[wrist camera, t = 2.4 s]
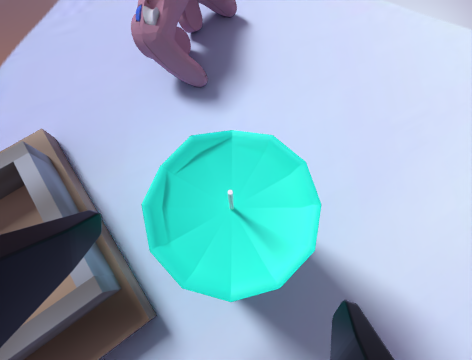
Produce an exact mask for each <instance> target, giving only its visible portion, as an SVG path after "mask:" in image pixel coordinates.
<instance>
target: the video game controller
mask: <svg viewBox="0 0 472 360" xmlns="http://www.w3.org/2000/svg"><path fill="white" fill-rule="evenodd" d="M198 3H201V4H203V5H205V6H206V7H208V8H209V9H211V10H212V11H214V12H216V13H218V14H220V15H223V16H227V17H232V16H233V15H234V14H235V13H236V10H237V6H236V1H235V0H139V1H138V7H137V10H136V14H135V15H134V16H133V18H132V22H131V32H132V36H133V40H134V42H135V44H136V46H137V47H138V49H139V50H140V51H141V52H142V53H143V54H144V55H145V56H147V57H149V58H151V59H154V60H155V61H156V62H157V63H158V64H160V65H161V66H162V67H163V68H165V69H166V70H167V71H168V72H170V73H171V74H172V75H174V76H175V77H177V78H178V79H180V80H181V81H183V82H185V83H188V84H190V85H193V86H198V87H202V86H204V85H206V83H207V82H208V78H207V75H206V73H205V71H204V70H203V68H202V67H201V66H200V65H199V64H198V63H197V62H196V61H195V60H194V59H192V58H191V57H190V56H189V53H190V49H191V44H190V39H189V37H188V35H187V33H186V32H188V33H191V32H195V31H198V30H200V28H201V27H202V15H201V11H200V8H199V4H198ZM178 21H179V23H180V25H181V27H182V28H183V29H184V30H185V31H186V32H185V31H184V30H183V29H181V28H179V27H177V23H178Z"/></svg>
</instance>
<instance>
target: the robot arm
mask: <svg viewBox="0 0 472 360" xmlns="http://www.w3.org/2000/svg"><path fill="white" fill-rule="evenodd" d="M101 232H102V216H101V214H100V213H98V212H96V211H93V210H87V211H83V212H80V213H76V214H72V215H69V216H65V217H62V218H58V219H55V220H51V221H47V222H44V223H40V224H37V225H33V226H29V227H26V228H22V229H19V230H15V231H11V232H8V233H4V234H1V235H0V348H1V347H2V346H3V345H4V344H5V343H6V342H7V341H8V339H9V338H10V337H11V336H12V335H13V334H14V333H15V332H16V331H17V330H18V329H19V328H20V327H21V326H22V325H23V324H24V322H25V321H26V320H27V319H28V318H29V317H30V316H31V315H32V314H33V313H34V312H35V311H36V310H37V309H38V308H39V306H40V305H41V304H42V303H43V302H44V301H45V300H46V299H47V298H48V297H49V296H50V295H51V294H52V293H53V292H54V290H55V289H56V288H57V287H58V286H59V285H60V284H61V283H62V282H63V281H64V280H65V279H66V278H67V277H68V276H69V274H70V273H71V272H72V271H73V270H74V269H75V267H76V266H77V265H78V264H79V262H80V261H81V260H82V259H83V257H84V256H85V255H86V253H87V252H88V251H89V249H90V248H91V247H92V246H93V244H94V243H95V242H96V240H97V239H98V238H99V236H100V235H101ZM330 360H394V358H393V357H392V355H391V354H390V352H389V351H388V349H387V348H386V346H385V345H384V343H383V342H382V340H381V339H380V337H379V336H378V334H377V333H376V331H375V330H374V328H373V327H372V325H371V324H370V322H369V321H368V320H367V318H366V317H365V315H364V314H363V312H362V311H361V309H360V308H359V306H358V305H357V304H356V303H353V302H350V301H347V300H344V301H342V303H341V304H340V306H339V307H338V309H337V311H336V312H335V314H334V316H333V320H332V336H331V357H330Z"/></svg>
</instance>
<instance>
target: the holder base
mask: <svg viewBox="0 0 472 360" xmlns="http://www.w3.org/2000/svg"><path fill="white" fill-rule="evenodd" d="M87 210H93V211H96V209H95V207H94V205H93V204H92V202H91V200H90V198H89V197H88V195H87V193H86V191H85V190H84V188H83V186H82V184H81V183H80V181H79V179H78V178H77V176H76V174H75V172H74V171H73V169H72V167H71V165H70V164H69V162H68V160H67V158H66V157H65V155H64V153H63V151H62V150H61V148H60V146H59V144H58V143H57V141H56V139H55V138H54V137H53V136H51V135H50V134H49V133H47V132H46V131H44V130H43V129H40V130H38V131H36V132H35V133H33V134H31V135H29V136H28V137H26V138H24V139H22V140H20V141H19V142H17V143H15V144H13V145H11V146H10V147H8V148H6V149H4V150H3V151H1V152H0V235H1V234H4V233H8V232H11V231H15V230H19V229H22V228H26V227H29V226H33V225H37V224H40V223H44V222H47V221H51V220H55V219H58V218H62V217H65V216H69V215H72V214H76V213H80V212H83V211H87ZM96 212H97V211H96ZM156 316H157V315H156V313H155V312H154V310H153V308H152V306H151V305H150V303H149V301H148V299H147V298H146V296H145V294H144V292H143V291H142V289H141V287H140V285H139V284H138V282H137V280H136V278H135V277H134V275H133V273H132V272H131V270H130V268H129V266H128V265H127V263H126V261H125V259H124V258H123V256H122V254H121V252H120V251H119V249H118V247H117V245H116V244H115V242H114V240H113V238H112V237H111V235H110V233H109V231H108V230H107V228H106V226H105V225H104V223H103V221H102V232H101V235H100V236H99V238H98V239H97V240H96V242H95V243H94V244H93V246H92V247H91V248H90V249H89V251H88V252H87V253H86V255H85V256H84V257H83V259H82V260H81V261H80V262H79V264H78V265H77V266H76V267H75V269H74V270H73V271H72V272H71V273H70V274H69V276H68V277H67V278H66V279H65V280H64V281H63V282H62V283H61V284H60V285H59V286H58V287H57V288H56V289H55V290H54V292H53V293H52V294H51V295H50V296H49V297H48V298H47V299H46V300H45V301H44V302H43V303H42V304H41V305H40V306H39V308H38V309H37V310H36V311H35V312H34V313H33V314H32V315H31V316H30V317H29V318H28V319H27V320H26V321H25V322H24V324H23V325H22V326H21V327H20V328H19V329H18V330H17V331H16V332H15V333H14V334H13V335H12V336H11V337H10V338H9V339H8V341H7V342H6V343H5V344H4V345H3V346H2V347H1V348H0V360H99V359H100V358H102V357H103V356H104V355H106V354H107V353H108V352H110V351H111V350H112V349H114V348H115V347H116V346H118V345H119V344H120V343H121V342H123V341H124V340H125V339H127V338H128V337H129V336H131V335H132V334H133V333H135V332H136V331H137V330H138V329H140V328H141V327H142V326H144V325H145V324H146V323H148V322H149V321H150V320H152V319H153V318H154V317H156Z"/></svg>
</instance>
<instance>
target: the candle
mask: <svg viewBox="0 0 472 360" xmlns="http://www.w3.org/2000/svg"><path fill="white" fill-rule="evenodd" d="M141 205H142V211H143V216H144V222H145V227H146V233H147V238H148V244H149V250H150V252H151V253H152V254H153V255H154V257H155V258H156V259H157V260H158V261H159V262H160V263H161V265H162V266H163V267H164V268H165V269H166V270H167V271H168V273H169V274H170V275H171V276H172V277H173V278H174V280H175V281H176V282H177V283H178V284H179V285H180V286H181V288H183V289H186V290H190V291H194V292H197V293H201V294H204V295H208V296H211V297H215V298H218V299H222V300H225V301H229V302H233V301H237V300H240V299H244V298H247V297H251V296H255V295H258V294H262V293H265V292H269V291H272V290H276V289H280V288H281V287H282V286H283V285H284V284H285V282H286V281H287V280H288V279H289V278H290V277H291V276H292V275H293V274H294V273H295V272H296V271H297V270H298V268H299V267H300V266H301V265H302V264H303V263H304V262H305V261H306V260H307V259H308V258H309V257H310V256H311V254H312V253H313V252H314V251H315V246H316V239H317V232H318V225H319V218H320V211H321V202H320V200H319V197H318V194H317V191H316V188H315V186H314V183H313V180H312V177H311V175H310V172H309V169H308V166H307V164H306V162H305V161H304V160H303V159H301V158H300V157H299V156H298V155H296V154H295V153H294V152H293V151H292V150H290V149H289V148H288V147H287V146H285V145H284V144H283V143H282V142H281V141H279V140H278V139H277V138H276V137H274V136H273V135H267V134H259V133H251V132H243V131H235V130H230V131H222V132H214V133H207V134H199V135H191V136H190V137H189V138H188V139H187V140H186V141H185V142H184V143H183V144H182V145H181V146H180V147H179V148H178V149H177V150H176V151H175V152H174V153H173V154H172V155H171V156H170V157H169V158H168V159H167V160H166V161H165V162H164V163H163V164H162V165H161V166H160V168H159V170H158V172H157V174H156V176H155V178H154V180H153V182H152V184H151V186H150V188H149V190H148V192H147V194H146V196H145V198H144V200H143V202H142V204H141Z"/></svg>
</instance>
